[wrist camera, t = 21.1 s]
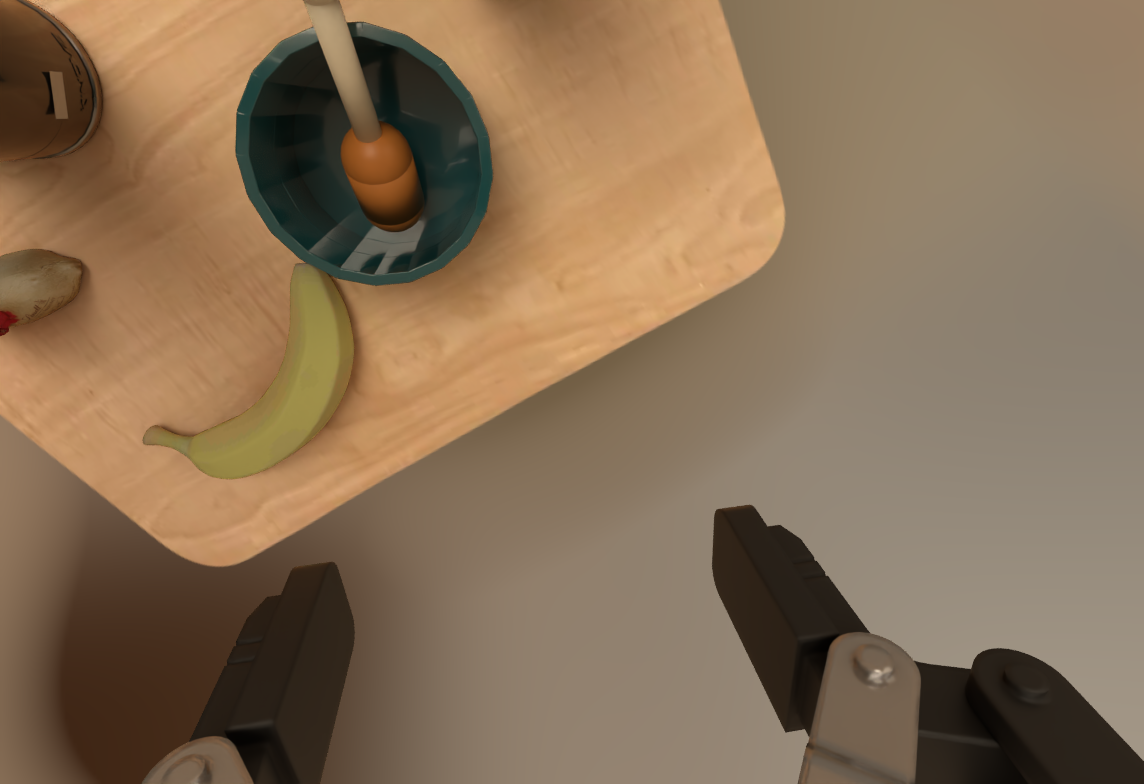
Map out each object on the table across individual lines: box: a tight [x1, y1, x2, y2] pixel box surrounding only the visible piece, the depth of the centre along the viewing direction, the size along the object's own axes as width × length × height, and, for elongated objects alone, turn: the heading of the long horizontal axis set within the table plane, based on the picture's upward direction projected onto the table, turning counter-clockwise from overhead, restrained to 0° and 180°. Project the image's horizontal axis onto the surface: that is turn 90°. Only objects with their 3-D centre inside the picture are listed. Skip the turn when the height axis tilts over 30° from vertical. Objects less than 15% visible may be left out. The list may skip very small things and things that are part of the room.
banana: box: [143, 263, 354, 479], centre depth 47 cm, size 14×6×20 cm
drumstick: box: [303, 0, 424, 232], centre depth 35 cm, size 4×19×4 cm
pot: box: [236, 22, 493, 286], centre depth 39 cm, size 14×14×10 cm
